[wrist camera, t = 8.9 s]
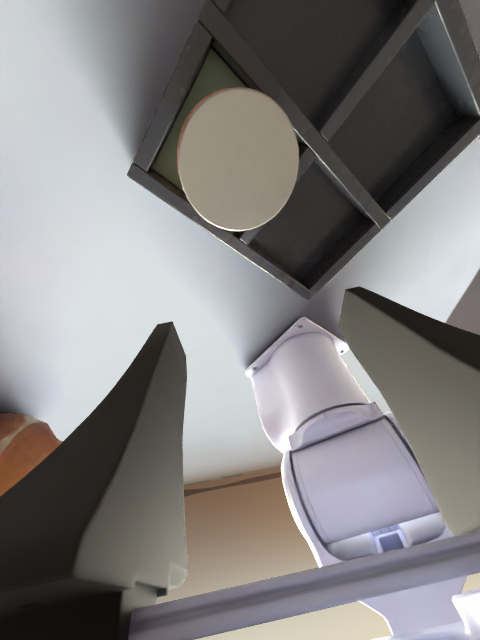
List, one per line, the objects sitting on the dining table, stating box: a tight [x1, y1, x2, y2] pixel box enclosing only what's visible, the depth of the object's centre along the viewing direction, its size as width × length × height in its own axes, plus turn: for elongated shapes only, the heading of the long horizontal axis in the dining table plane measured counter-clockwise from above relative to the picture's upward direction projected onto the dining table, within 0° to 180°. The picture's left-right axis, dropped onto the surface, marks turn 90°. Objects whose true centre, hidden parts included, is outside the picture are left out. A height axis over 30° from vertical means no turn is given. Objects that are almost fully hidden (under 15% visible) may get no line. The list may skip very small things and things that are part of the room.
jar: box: [177, 87, 299, 231], centre depth 12 cm, size 5×5×6 cm
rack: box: [127, 0, 480, 301], centre depth 15 cm, size 15×15×2 cm
